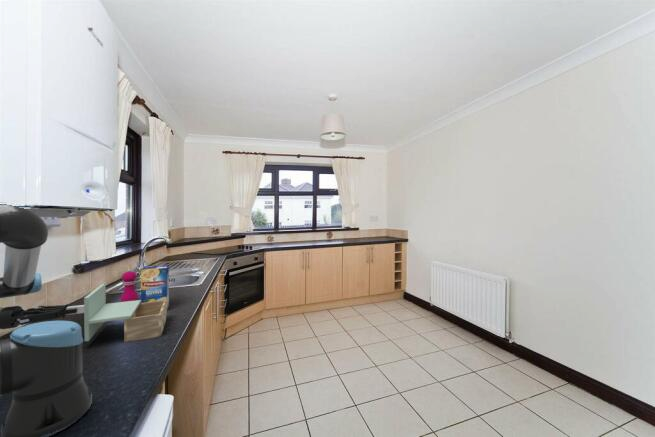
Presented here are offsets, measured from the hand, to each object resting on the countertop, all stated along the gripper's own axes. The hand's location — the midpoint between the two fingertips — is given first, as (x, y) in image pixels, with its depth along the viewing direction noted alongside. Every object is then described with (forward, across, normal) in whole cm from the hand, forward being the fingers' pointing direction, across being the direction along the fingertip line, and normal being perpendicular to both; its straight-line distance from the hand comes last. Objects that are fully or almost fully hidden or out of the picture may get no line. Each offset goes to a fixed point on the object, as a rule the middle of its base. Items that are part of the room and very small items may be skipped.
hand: (89, 308), depth 102 cm
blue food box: (+19, -22, -12) cm, 32 cm away
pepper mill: (+6, -33, -12) cm, 36 cm away
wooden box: (+19, +1, -12) cm, 23 cm away
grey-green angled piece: (+8, +1, -9) cm, 12 cm away
